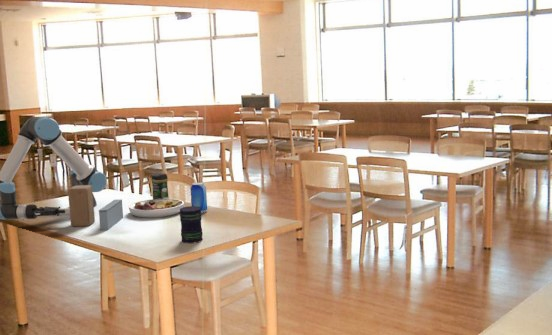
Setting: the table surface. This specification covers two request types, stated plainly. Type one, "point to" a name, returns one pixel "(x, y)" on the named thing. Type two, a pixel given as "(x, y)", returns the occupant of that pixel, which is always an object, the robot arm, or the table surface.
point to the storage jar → (191, 224)
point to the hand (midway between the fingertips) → (71, 210)
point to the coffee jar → (160, 186)
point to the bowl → (156, 208)
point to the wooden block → (81, 205)
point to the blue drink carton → (199, 196)
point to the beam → (110, 214)
